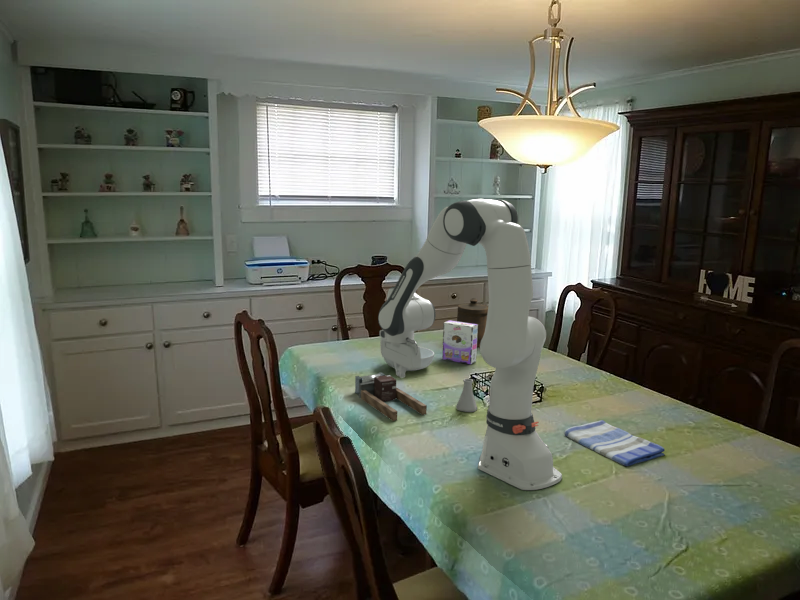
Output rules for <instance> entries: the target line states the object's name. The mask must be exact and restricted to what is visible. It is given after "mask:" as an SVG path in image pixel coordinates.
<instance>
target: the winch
mask: <svg viewBox="0 0 800 600" xmlns="http://www.w3.org/2000/svg"><path fill="white" fill-rule="evenodd" d="M377 376H386V374H385V373H383V372H382V371H381V372H378V373H375V374H370V375H369V374H368V375H362V376H359V375H356V376H355V378H354V380H355V382H354V383H355V386H354V387H355V388H354V389H355V390H354V392H355V394H357V395H358V396H359V384H360V383H366V382H372V381H374V377H377Z"/></svg>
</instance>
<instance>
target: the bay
mask: <svg viewBox="0 0 800 600" xmlns="http://www.w3.org/2000/svg"><path fill="white" fill-rule="evenodd" d="M358 398H359V399H360V400H362V401H364V402H365V403H366V404H368V405H369V406H370V407H372V408H373V409H375V410H376V411H378V412H379V413H380V414H382V415H383V414H384V416H385V417H386V416H387V417H386V418H387V419H389V418H390V420H391V421H392V422H396V421H398V410H396V409H394V408H393V407H392V406H390V405H388V404H387V403H386V402H385V401H384V402H383V401H381V400H380V399H378V398H377V397H375V396H374V381H372V382H366V383H360V384H359V395H358ZM396 400H397V401H400V402H401V403H402V404H404V405H406V406H407V405H408V406H407V407H409V408H411V409H412V410H413V411H415V410H416V411H415V412H417V413H418V414H419V415H422V416H425V415H427V411H428V410H427V407H428V406H427V404H425V403H424V402H422V401H420V400H419V399H417V398H415V397H413V396H412V395H410V394H408V393H407V392H405V391H403V390H402V389H399V387H397V386H396ZM424 414H425V415H424ZM395 420H396V421H395Z"/></svg>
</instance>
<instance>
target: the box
mask: <svg viewBox="0 0 800 600" xmlns="http://www.w3.org/2000/svg"><path fill="white" fill-rule="evenodd" d="M396 387H397V379H396V378H394V377H393V376H392V375H390V374H389V375H385V376H377V377H374V396H375V397H377V398H378V399H380V400H381V401H383V402H384V403H385V402H390V401H396V400H397V399H396Z"/></svg>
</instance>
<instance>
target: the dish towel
mask: <svg viewBox="0 0 800 600" xmlns="http://www.w3.org/2000/svg"><path fill="white" fill-rule="evenodd" d="M563 435H564V436H565V437H567V438H569V439H571V440H573V442H576V443H578V444H580V445H581V446H584V447H585V448H587V449H589V450H591V451H594V452H596V453H598V454H599V455H602V456H603V457H606V458H608V459H610V460H612V461H613V462H616V463H618V464H620V465H623V466H626V467H629V466H633V465H635V464H640V463H642V462H647V461H650V460H652V459H656V458H659V457H662V456H665V455H666V454H665V453H664V452H665V448H664V447H663V446H661V444H657V443H655V442H652V441H649V440H647V439H645V438H643V437H640V436H635V435H633V434H631V433H630V432H628V431H626V430H624V429H621V428H619V427H616V426H613V425H611V424H609V423H607V422H606V421H605V420H598V421H592V422H588V423H584V424H582V425H574V426H571V427H568V428H566V429H565V430H564V431H563Z"/></svg>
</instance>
